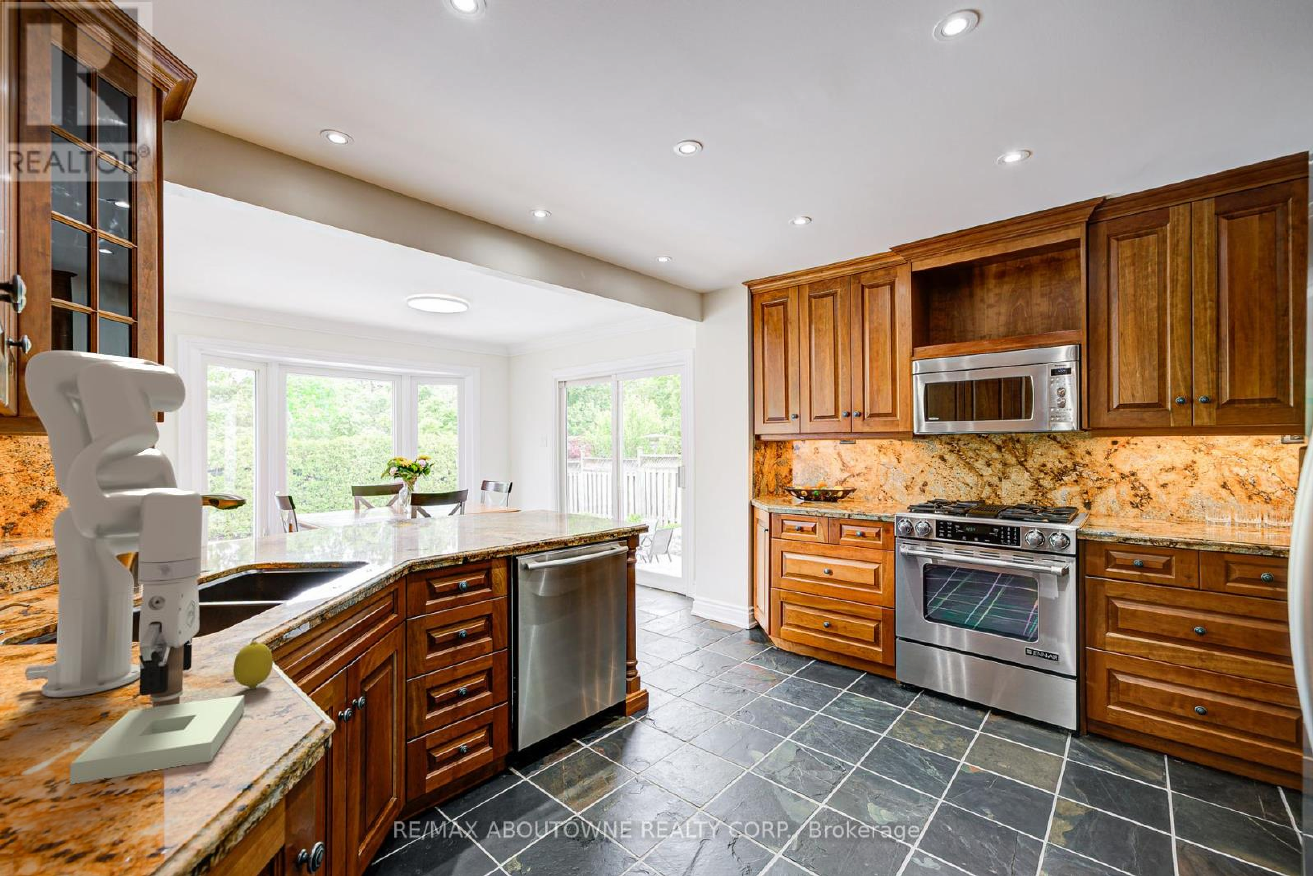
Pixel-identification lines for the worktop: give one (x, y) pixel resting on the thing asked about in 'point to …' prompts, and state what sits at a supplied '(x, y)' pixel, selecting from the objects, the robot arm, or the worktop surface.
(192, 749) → the board
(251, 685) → the lemon
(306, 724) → the worktop surface
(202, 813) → the worktop surface
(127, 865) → the worktop surface
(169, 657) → the peg
